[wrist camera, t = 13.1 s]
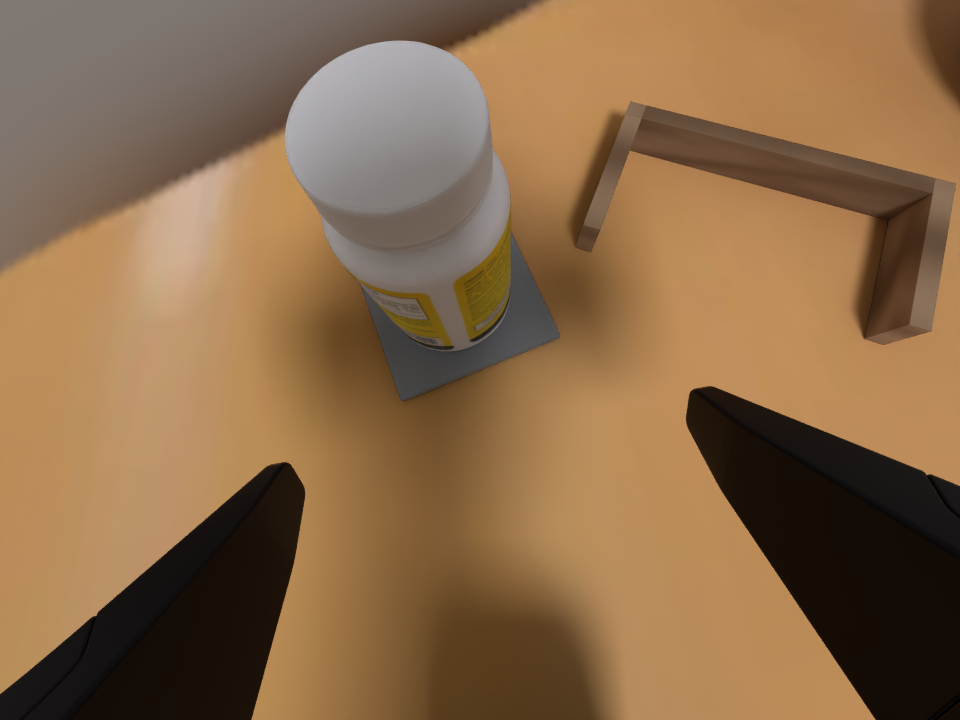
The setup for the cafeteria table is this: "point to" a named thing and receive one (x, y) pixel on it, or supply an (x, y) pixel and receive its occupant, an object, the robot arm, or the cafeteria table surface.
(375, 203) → the supplement bottle
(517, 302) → the pad
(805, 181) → the u-shaped wooden frame
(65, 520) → the cafeteria table surface
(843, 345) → the cafeteria table surface
